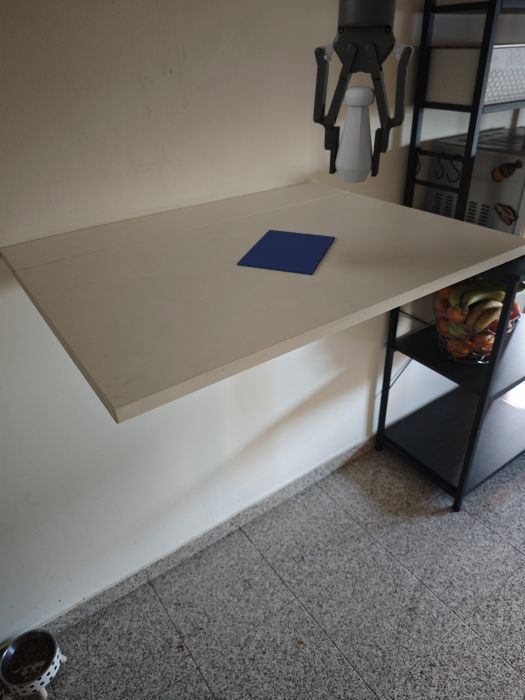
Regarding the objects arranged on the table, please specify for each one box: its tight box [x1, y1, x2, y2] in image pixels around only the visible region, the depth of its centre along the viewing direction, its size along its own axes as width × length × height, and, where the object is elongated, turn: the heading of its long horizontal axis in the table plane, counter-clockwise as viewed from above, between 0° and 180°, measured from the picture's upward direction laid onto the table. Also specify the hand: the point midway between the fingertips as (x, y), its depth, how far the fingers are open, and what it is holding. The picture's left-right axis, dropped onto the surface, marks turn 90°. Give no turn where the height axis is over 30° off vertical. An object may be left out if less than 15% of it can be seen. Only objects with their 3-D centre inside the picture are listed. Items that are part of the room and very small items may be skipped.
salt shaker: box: [335, 85, 376, 184], centre depth 75 cm, size 6×6×13 cm
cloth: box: [236, 229, 336, 276], centre depth 95 cm, size 14×18×1 cm
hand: (353, 172), depth 78 cm, fingers closed on salt shaker, 6 cm apart
